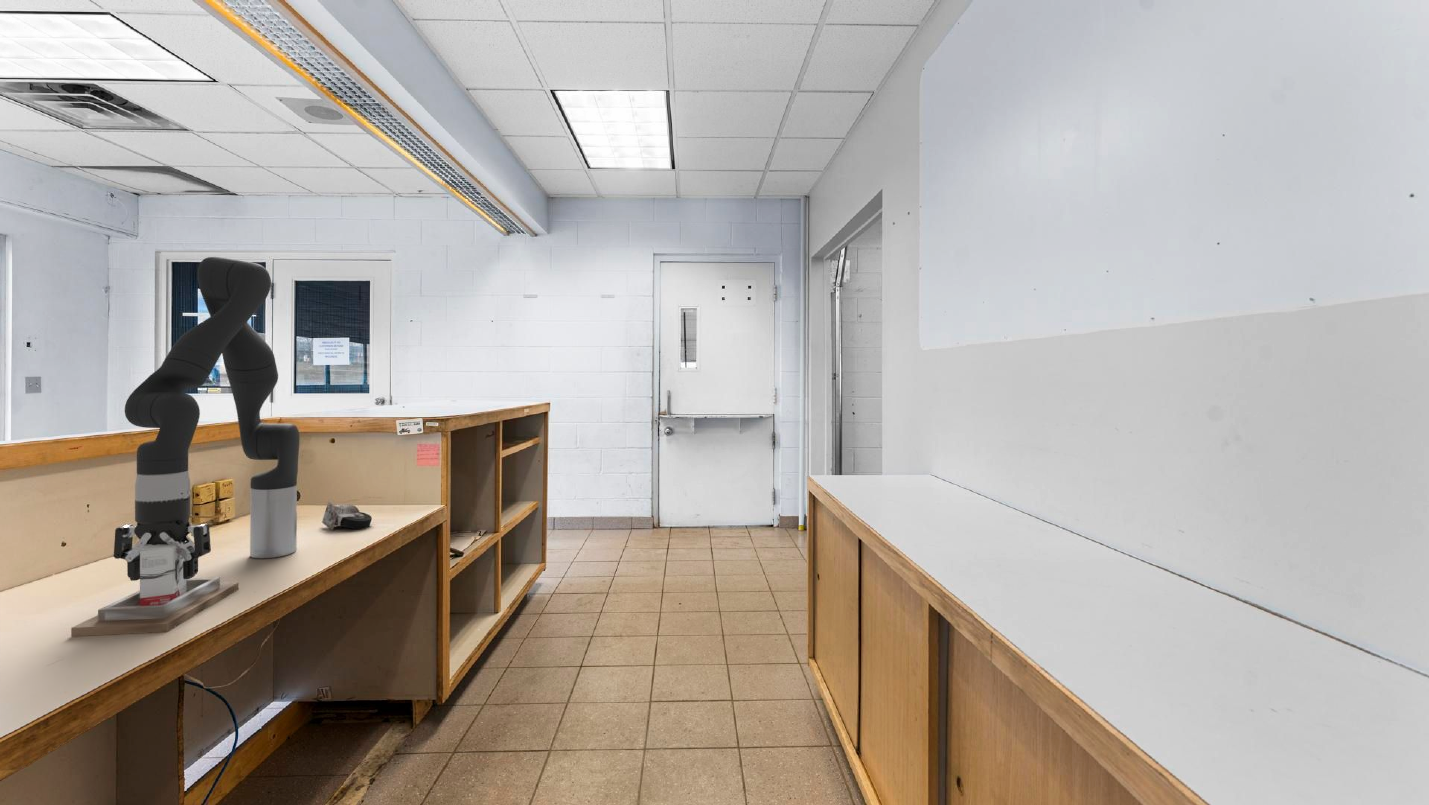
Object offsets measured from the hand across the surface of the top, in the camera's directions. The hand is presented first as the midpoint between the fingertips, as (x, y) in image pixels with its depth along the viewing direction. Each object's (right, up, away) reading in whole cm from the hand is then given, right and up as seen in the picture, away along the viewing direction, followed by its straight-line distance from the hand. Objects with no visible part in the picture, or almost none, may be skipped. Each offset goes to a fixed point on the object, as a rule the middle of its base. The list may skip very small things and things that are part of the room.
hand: (163, 578), depth 106 cm
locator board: (0, -6, 0) cm, 6 cm away
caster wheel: (-4, -4, +61) cm, 61 cm away
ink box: (0, -5, 0) cm, 5 cm away
